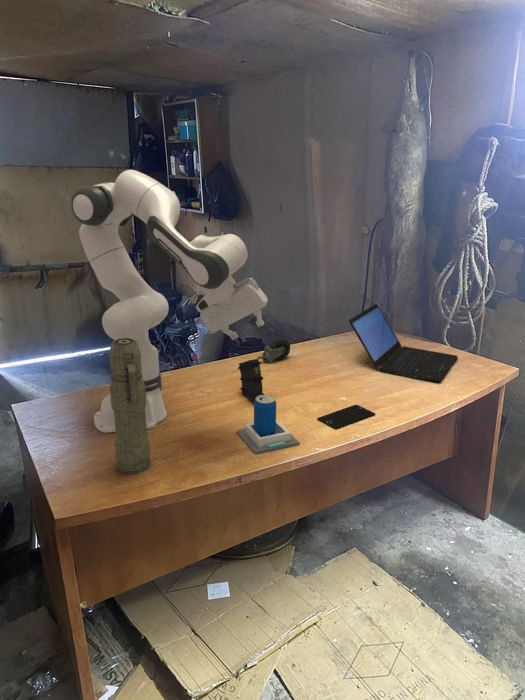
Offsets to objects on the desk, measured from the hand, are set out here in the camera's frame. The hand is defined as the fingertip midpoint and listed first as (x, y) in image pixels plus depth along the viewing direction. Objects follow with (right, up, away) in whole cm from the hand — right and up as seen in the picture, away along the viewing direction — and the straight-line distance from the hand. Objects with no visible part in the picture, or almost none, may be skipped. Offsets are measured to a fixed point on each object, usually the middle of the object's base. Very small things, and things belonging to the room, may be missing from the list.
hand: (248, 332), depth 152 cm
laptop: (+62, -10, +68) cm, 93 cm away
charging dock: (+5, -31, +5) cm, 32 cm away
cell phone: (+31, -27, +19) cm, 46 cm away
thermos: (-30, -36, -9) cm, 48 cm away
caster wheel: (+9, -10, +68) cm, 69 cm away
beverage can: (+5, -31, +5) cm, 31 cm away
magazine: (0, -22, +33) cm, 40 cm away
